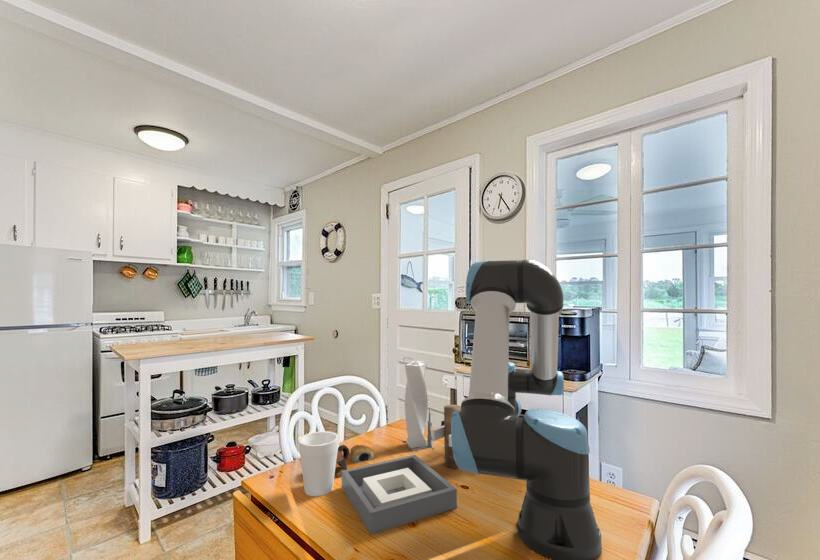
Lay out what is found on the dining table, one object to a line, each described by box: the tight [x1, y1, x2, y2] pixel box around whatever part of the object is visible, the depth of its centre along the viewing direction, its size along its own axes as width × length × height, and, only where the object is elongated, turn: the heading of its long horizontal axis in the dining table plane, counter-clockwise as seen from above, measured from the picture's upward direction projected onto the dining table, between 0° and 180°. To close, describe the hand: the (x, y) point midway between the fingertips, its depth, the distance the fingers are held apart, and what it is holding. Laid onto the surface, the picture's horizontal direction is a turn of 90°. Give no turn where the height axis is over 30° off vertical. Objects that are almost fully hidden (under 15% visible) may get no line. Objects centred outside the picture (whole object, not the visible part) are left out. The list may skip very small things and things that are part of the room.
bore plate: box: [363, 468, 432, 508], centre depth 86 cm, size 12×12×3 cm
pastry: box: [349, 444, 375, 465], centre depth 110 cm, size 9×7×4 cm
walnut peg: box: [443, 404, 461, 470], centre depth 103 cm, size 5×5×16 cm
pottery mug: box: [336, 444, 350, 478], centre depth 100 cm, size 12×10×8 cm
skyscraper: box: [402, 356, 435, 452], centre depth 118 cm, size 8×8×28 cm
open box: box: [341, 454, 458, 535], centre depth 86 cm, size 20×20×5 cm
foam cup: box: [298, 430, 340, 497], centre depth 90 cm, size 10×9×13 cm
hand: (441, 438), depth 99 cm, fingers closed on walnut peg, 5 cm apart
